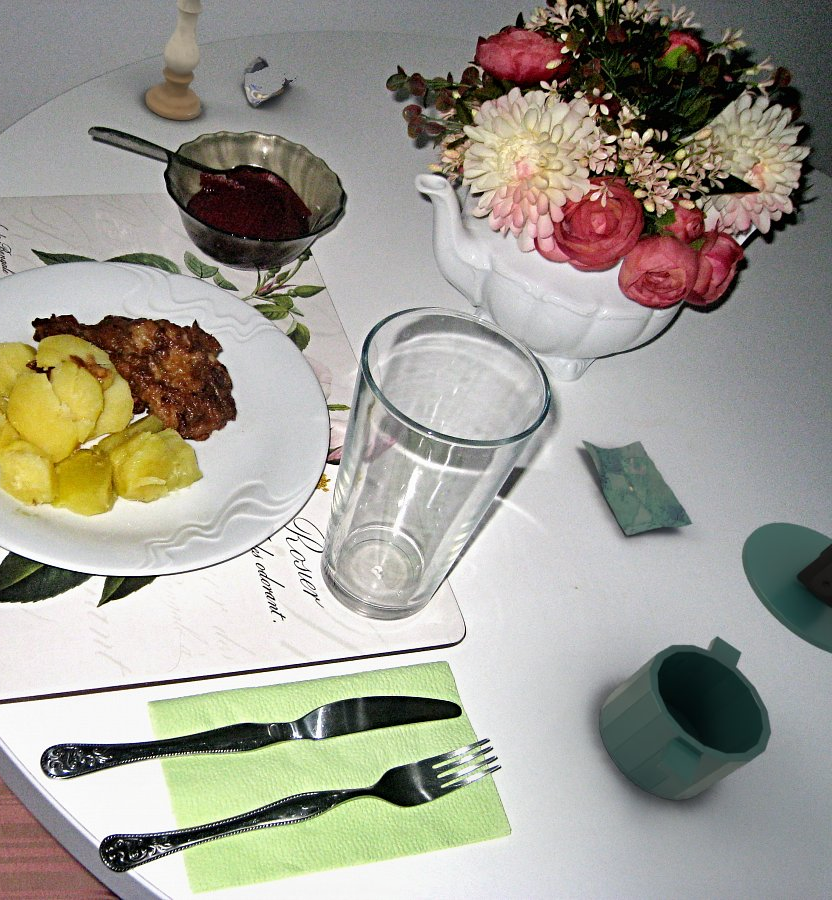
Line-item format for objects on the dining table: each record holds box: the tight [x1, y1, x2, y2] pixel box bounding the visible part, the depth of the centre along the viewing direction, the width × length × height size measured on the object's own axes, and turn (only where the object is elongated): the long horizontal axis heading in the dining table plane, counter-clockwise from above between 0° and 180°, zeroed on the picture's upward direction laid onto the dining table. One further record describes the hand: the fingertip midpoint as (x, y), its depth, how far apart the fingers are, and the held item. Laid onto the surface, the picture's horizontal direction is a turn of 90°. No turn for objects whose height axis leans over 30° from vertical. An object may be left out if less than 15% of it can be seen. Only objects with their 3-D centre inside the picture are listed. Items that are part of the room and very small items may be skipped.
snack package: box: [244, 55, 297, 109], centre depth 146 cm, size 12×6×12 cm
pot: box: [599, 635, 772, 801], centre depth 78 cm, size 10×16×8 cm, turn 142°
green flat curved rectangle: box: [581, 439, 693, 536], centre depth 102 cm, size 13×8×2 cm, turn 10°
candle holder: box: [145, 0, 204, 121], centre depth 131 cm, size 9×9×20 cm
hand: (828, 579), depth 65 cm, fingers closed on pot lid, 3 cm apart
